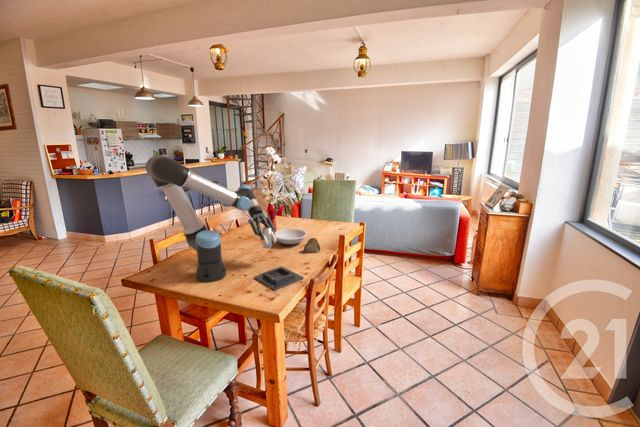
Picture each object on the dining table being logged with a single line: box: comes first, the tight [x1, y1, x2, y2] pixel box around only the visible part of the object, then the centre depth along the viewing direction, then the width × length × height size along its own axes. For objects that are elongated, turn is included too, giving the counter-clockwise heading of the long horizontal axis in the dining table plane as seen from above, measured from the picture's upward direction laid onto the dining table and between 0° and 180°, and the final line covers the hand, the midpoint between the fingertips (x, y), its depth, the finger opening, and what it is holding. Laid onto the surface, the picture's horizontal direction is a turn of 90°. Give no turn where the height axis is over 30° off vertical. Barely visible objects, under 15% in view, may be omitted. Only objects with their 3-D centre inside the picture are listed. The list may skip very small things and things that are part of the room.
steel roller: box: [261, 226, 273, 249], centre depth 169 cm, size 5×5×11 cm
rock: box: [302, 237, 321, 253], centre depth 193 cm, size 11×9×10 cm
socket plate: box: [254, 266, 305, 292], centre depth 155 cm, size 18×18×3 cm
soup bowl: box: [274, 228, 308, 245], centre depth 208 cm, size 24×24×7 cm
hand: (271, 242), depth 167 cm, fingers closed on steel roller, 5 cm apart
